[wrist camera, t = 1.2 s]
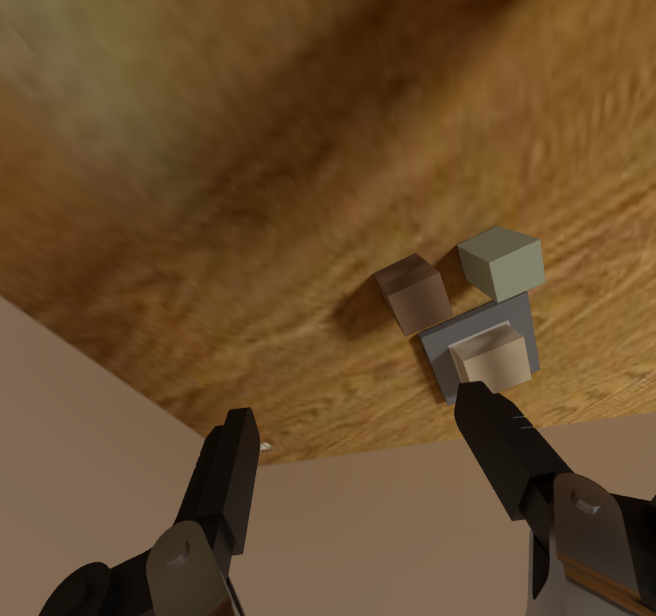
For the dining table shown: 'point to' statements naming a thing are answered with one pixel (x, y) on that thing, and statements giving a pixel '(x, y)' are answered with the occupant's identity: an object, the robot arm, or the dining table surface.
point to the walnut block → (414, 294)
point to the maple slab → (494, 358)
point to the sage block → (502, 262)
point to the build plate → (472, 325)
